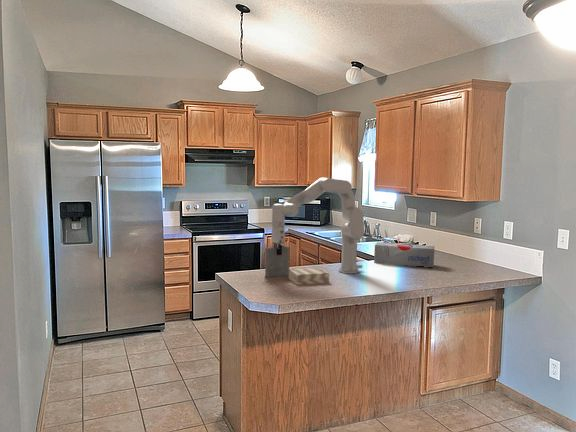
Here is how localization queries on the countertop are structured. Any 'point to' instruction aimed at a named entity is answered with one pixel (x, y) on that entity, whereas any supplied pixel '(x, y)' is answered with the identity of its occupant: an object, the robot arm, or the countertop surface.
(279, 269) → the hip flask
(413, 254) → the soda pack
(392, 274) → the countertop surface
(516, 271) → the countertop surface
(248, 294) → the countertop surface
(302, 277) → the chevron striped box
